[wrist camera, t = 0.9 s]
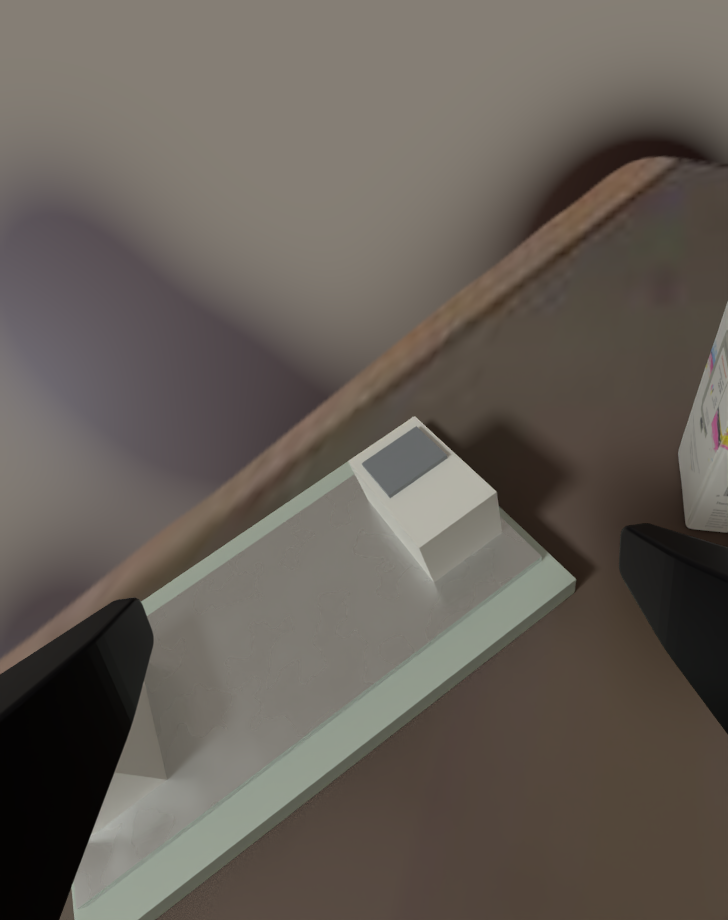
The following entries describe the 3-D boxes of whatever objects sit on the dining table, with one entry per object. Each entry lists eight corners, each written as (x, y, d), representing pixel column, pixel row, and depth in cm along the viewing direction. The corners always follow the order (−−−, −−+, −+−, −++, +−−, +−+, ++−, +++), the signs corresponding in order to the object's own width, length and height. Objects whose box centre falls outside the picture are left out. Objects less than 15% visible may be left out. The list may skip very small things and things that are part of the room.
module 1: (139, 658, 24) (84, 635, 21) (167, 779, 20) (105, 771, 17) (67, 708, 23) (1, 691, 21) (81, 843, 20) (3, 844, 17)
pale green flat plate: (415, 438, 28) (414, 433, 28) (541, 561, 22) (541, 556, 21) (61, 681, 25) (54, 679, 25) (86, 907, 19) (76, 909, 18)
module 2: (427, 458, 26) (413, 412, 23) (502, 532, 22) (496, 488, 20) (367, 499, 26) (346, 458, 23) (434, 582, 22) (417, 545, 19)
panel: (413, 436, 30) (408, 420, 29) (574, 592, 22) (576, 579, 21) (71, 670, 27) (50, 663, 26) (106, 957, 19) (78, 965, 18)
